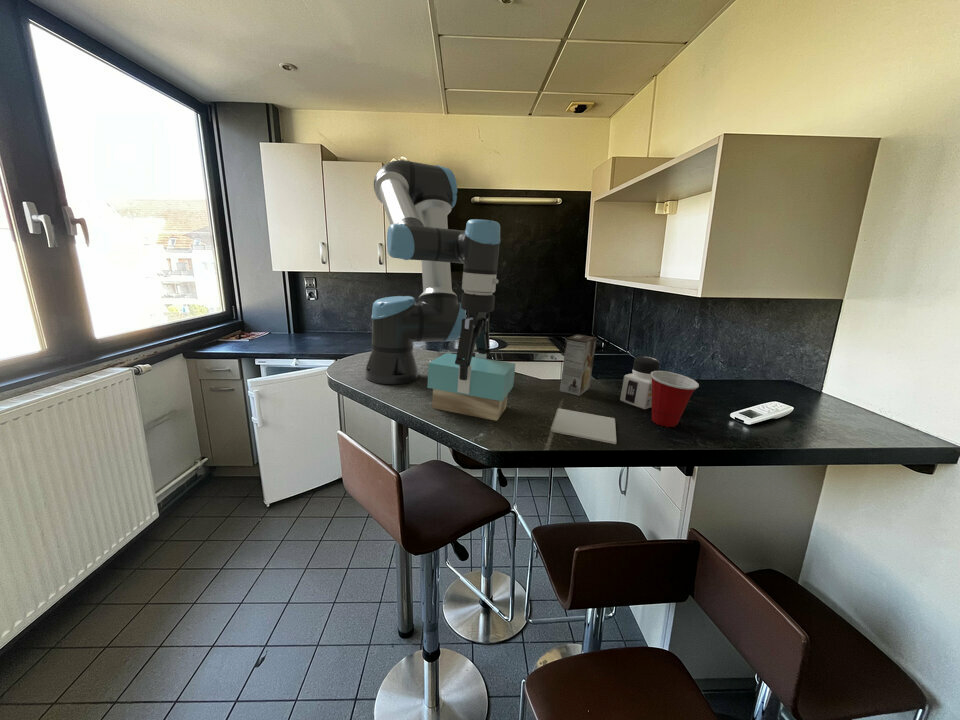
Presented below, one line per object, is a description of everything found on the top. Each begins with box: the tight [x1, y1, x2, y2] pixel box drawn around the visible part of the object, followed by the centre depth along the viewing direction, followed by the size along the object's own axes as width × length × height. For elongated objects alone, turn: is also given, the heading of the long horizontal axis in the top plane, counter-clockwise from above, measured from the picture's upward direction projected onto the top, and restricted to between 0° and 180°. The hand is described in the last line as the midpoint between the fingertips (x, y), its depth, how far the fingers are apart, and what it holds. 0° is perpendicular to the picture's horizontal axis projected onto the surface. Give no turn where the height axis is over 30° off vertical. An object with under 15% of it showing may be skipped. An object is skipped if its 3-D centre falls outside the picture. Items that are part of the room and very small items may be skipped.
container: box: [619, 356, 661, 410], centre depth 109 cm, size 8×8×13 cm
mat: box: [549, 407, 617, 445], centre depth 93 cm, size 14×22×1 cm, turn 73°
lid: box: [427, 352, 516, 401], centre depth 94 cm, size 11×18×6 cm, turn 73°
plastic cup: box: [650, 370, 700, 428], centre depth 96 cm, size 11×11×12 cm
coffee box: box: [559, 334, 598, 397], centre depth 116 cm, size 9×6×16 cm
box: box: [431, 389, 509, 422], centre depth 95 cm, size 9×16×11 cm, turn 73°
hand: (471, 385), depth 94 cm, fingers closed on lid, 11 cm apart
